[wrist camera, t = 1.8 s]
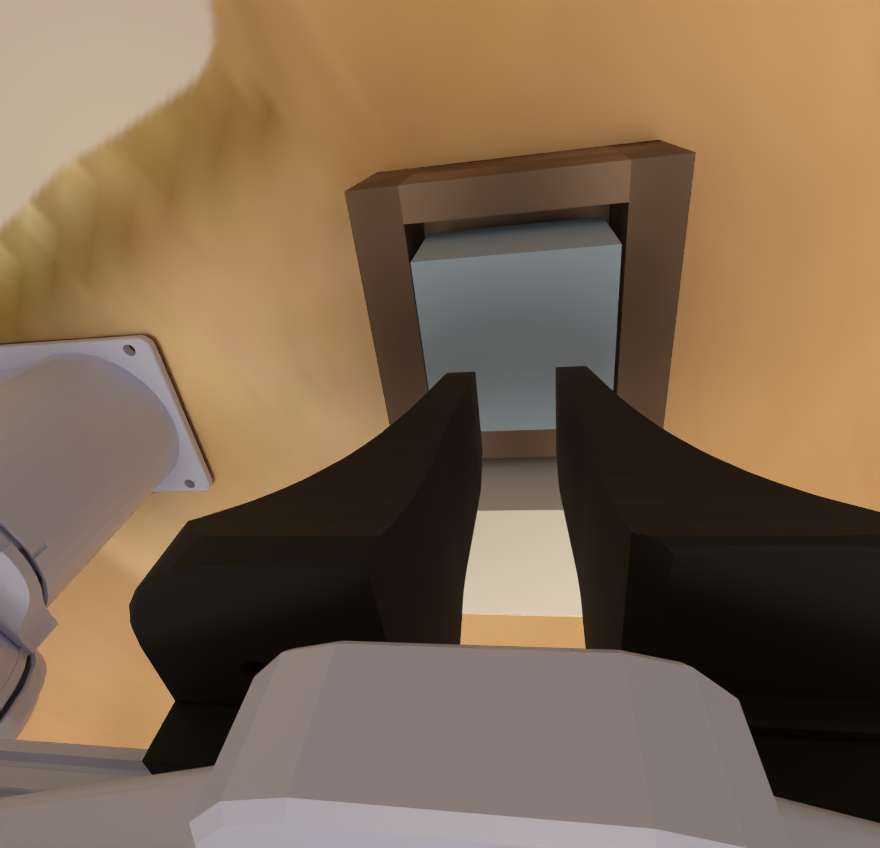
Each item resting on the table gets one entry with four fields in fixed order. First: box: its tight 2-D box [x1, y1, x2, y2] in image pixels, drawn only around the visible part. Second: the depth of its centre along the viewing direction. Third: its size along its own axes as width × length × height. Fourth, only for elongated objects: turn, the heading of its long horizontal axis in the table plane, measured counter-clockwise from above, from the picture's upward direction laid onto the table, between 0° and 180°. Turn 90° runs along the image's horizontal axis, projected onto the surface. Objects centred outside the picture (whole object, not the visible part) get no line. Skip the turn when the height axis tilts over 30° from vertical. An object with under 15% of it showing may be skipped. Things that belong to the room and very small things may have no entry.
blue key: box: [410, 217, 622, 431], centre depth 15 cm, size 5×5×3 cm
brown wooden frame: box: [345, 140, 695, 458], centre depth 20 cm, size 9×16×4 cm, turn 7°
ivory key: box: [462, 456, 583, 617], centre depth 19 cm, size 5×5×3 cm
